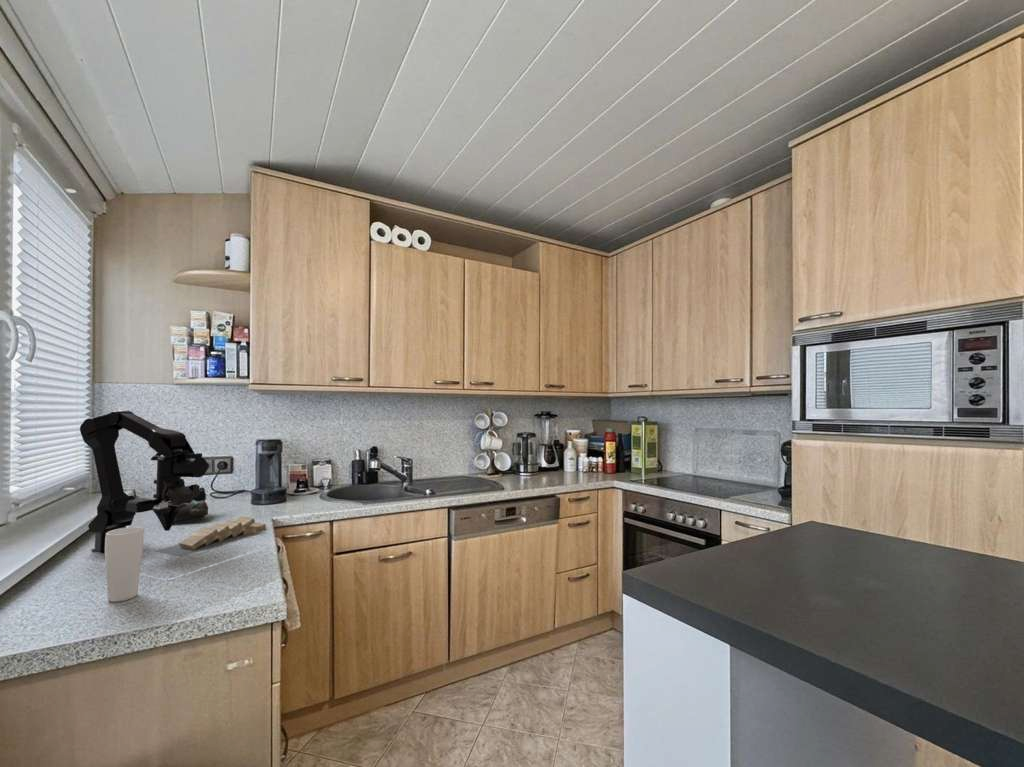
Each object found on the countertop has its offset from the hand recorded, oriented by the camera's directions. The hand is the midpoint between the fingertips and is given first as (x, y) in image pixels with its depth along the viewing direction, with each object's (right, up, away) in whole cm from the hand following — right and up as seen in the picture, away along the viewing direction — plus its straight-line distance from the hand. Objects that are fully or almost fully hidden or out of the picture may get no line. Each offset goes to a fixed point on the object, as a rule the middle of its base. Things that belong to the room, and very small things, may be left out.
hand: (167, 530), depth 136 cm
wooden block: (+8, -6, +15) cm, 18 cm away
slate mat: (+6, -7, +10) cm, 14 cm away
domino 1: (+3, -6, +3) cm, 7 cm away
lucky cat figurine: (-21, -8, +37) cm, 44 cm away
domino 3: (+6, -6, +11) cm, 14 cm away
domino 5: (+9, -6, +19) cm, 22 cm away
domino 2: (+4, -6, +7) cm, 10 cm away
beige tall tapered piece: (+12, -6, -30) cm, 33 cm away
